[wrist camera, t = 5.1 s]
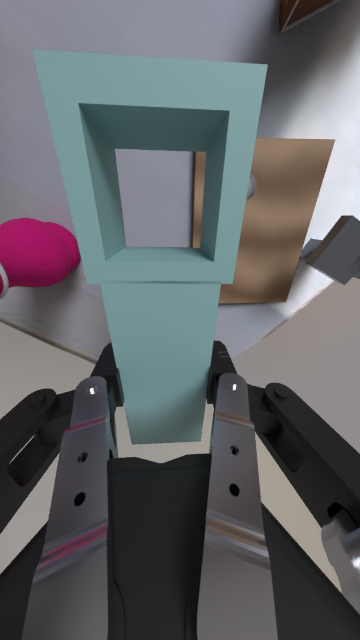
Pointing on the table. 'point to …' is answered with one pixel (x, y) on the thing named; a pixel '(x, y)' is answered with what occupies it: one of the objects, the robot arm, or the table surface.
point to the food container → (300, 11)
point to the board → (271, 216)
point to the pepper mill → (35, 253)
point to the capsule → (251, 187)
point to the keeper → (336, 251)
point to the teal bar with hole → (107, 221)
